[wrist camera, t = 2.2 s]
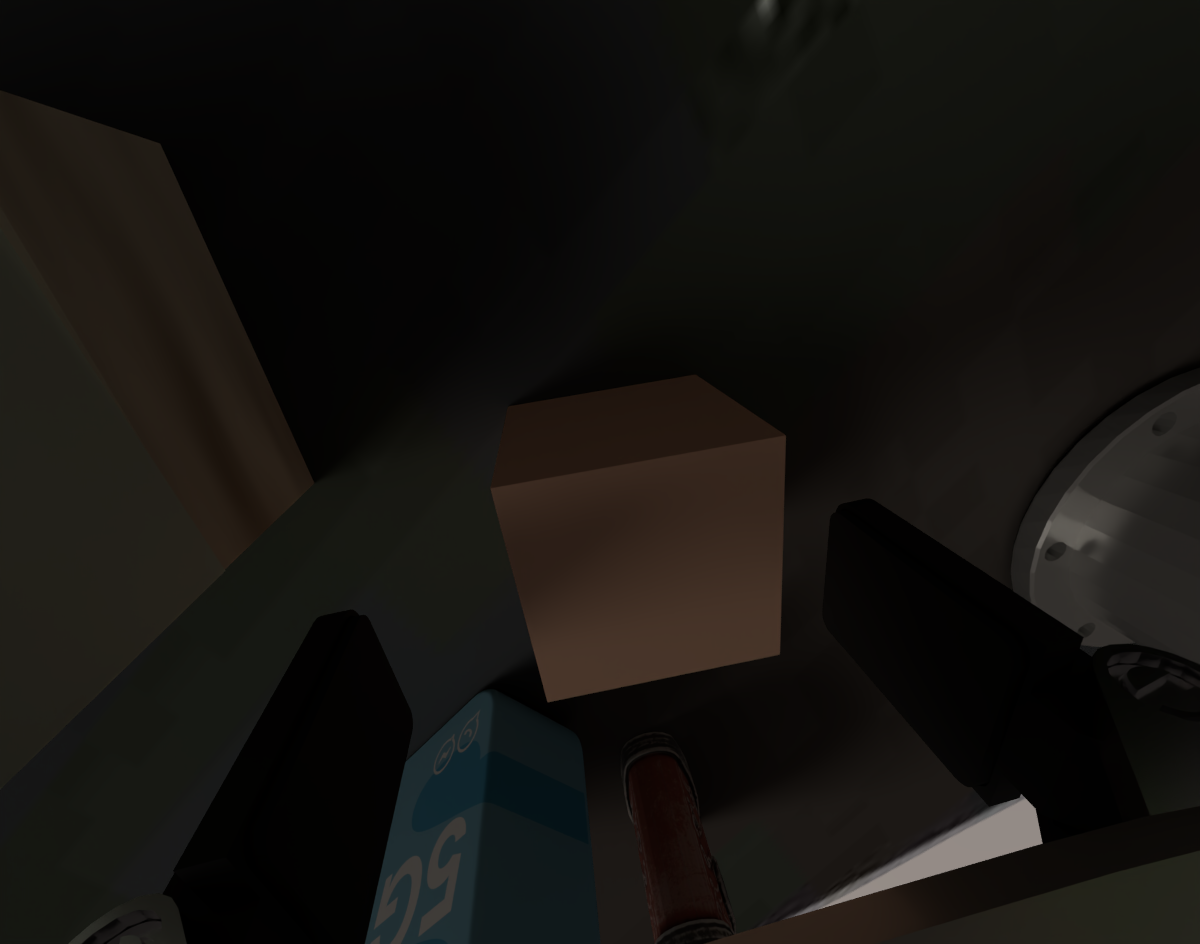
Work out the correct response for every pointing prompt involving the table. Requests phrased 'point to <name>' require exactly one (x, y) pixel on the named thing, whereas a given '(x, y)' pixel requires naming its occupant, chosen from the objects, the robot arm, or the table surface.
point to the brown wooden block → (149, 315)
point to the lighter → (673, 844)
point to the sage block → (75, 529)
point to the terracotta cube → (642, 532)
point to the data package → (490, 835)
